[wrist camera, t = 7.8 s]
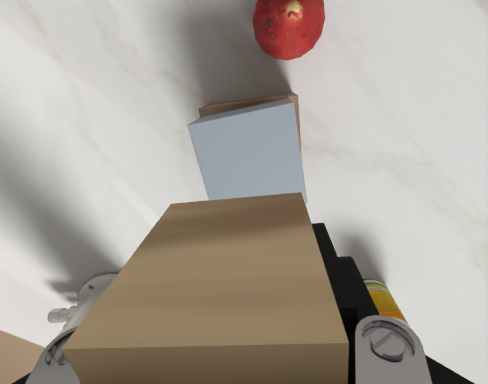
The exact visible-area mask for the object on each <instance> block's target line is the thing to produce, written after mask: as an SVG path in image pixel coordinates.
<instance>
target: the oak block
mask: <svg viewBox="0 0 488 384" xmlns="http://www.w3.org/2000/svg"><path fill="white" fill-rule="evenodd" d="M61 350H62V351H63V353H64V355H65V356H66V358H67V360H68V362H69V363H70V365H71V367H72V368H73V370H74V372H75V374H76V375H77V377H78V379H79V380H80V382H81V384H348V357H349V342H348V338H347V335H346V332H345V329H344V326H343V323H342V319H341V316H340V313H339V310H338V307H337V304H336V300H335V297H334V294H333V291H332V288H331V285H330V281H329V278H328V275H327V272H326V269H325V266H324V262H323V259H322V256H321V253H320V250H319V247H318V243H317V240H316V237H315V234H314V231H313V228H312V224H311V221H310V218H309V215H308V212H307V209H306V206H305V202H304V199H303V196H302V193H301V192H297V193H286V194H275V195H264V196H253V197H242V198H231V199H220V200H209V201H198V202H187V203H176V204H171V205H170V206H169V207H168V209H167V210H166V211H165V213H164V214H163V215H162V217H161V218H160V219H159V221H158V222H157V223H156V225H155V226H154V227H153V229H152V230H151V231H150V233H149V234H148V235H147V236H146V238H145V239H144V240H143V242H142V243H141V244H140V246H139V247H138V248H137V250H136V251H135V252H134V254H133V255H132V256H131V258H130V259H129V260H128V262H127V263H126V264H125V266H124V267H123V268H122V269H121V271H120V272H119V273H118V275H117V276H116V277H115V279H114V280H113V281H112V283H111V284H110V285H109V287H108V288H107V289H106V291H105V292H104V293H103V295H102V296H101V297H100V299H99V300H98V301H97V302H96V304H95V305H94V306H93V308H92V309H91V310H90V312H89V313H88V314H87V316H86V317H85V318H84V320H83V321H82V322H81V324H80V325H79V326H78V328H77V329H76V330H75V331H74V333H73V334H72V335H71V337H70V338H69V339H68V341H67V342H66V343H65V345H64V346H63V347H62V349H61Z"/></svg>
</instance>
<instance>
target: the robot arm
mask: <svg viewBox="0 0 488 384" xmlns="http://www.w3.org/2000/svg"><path fill="white" fill-rule="evenodd" d="M312 228H313V231H314V234H315V237H316V240H317V243H318V247H319V250H320V253H321V256H322V259H323V262H324V266H325V269H326V272H327V275H328V278H329V281H330V285H331V288H332V291H333V294H334V297H335V300H336V304H337V307H338V310H339V313H340V316H341V319H342V323H343V326H344V329H345V332H346V335H347V338H348V342H349V357H348V384H474V383H472V382H471V381H469V380H467V379H466V378H464V377H462V376H460V375H459V374H457V373H455V372H454V371H452V370H450V369H448V368H447V367H445V366H443V365H442V364H440V363H438V362H436V361H435V360H433V359H431V358H429V357H428V356H426V355H425V353H424V350H423V346H422V344H421V342H420V339H419V338H418V336H417V335H416V334H415V333H414V331H413V330H412V329H410V328H409V327H408V326H407V325H405V324H404V323H402V322H400V321H398V320H396V319H394V318H391V317H387V316H382V315H380V314H379V312H378V310H377V307H376V305H375V303H374V301H373V299H372V297H371V295H370V293H369V291H368V289H367V287H366V285H365V283H364V281H363V279H362V277H361V274H360V272H359V270H358V268H357V266H356V264H355V262H354V260H353V258H352V257H350V256H349V257H337V254H336V252H335V249H334V247H333V245H332V242H331V240H330V237H329V235H328V232H327V230H326V227H325V225H324V223H315V224H312ZM117 275H118V274H103V275H99V276H96V277H94V278H92V279H91V280H89V281H88V282H87V284H86V285H85V286H84V287H83V288H82V290H81V292H80V295H79V303H78V304H77V306H72V307H70V308H69V309H66V308H59V309H52V310H51V311H50V312H49V314H48V322H50V323H57V322H64V321H66V322H67V323H66V324H65V325H64V327H63V329H62V331H61V332H60V333H59V334H58V336H57V337H56V338H55V339H54V340H53V341H52V342H51V343H50V344H49V345H48V346H47V347H46V348H45V350H44V351H43V352H42V354H41V356H40V357H39V359H38V360H37V361H36V363H35V364H34V365H33V366H32V368H31V369H30V370H29V371H28V373H27V374H26V375H25V376H24V377H22V378H20V379H19V380H17V381H16V382H14V383H12V384H81V382H80V380H79V379H78V377H77V375H76V374H75V372H74V370H73V368H72V367H71V365H70V363H69V362H68V360H67V358H66V356H65V355H64V353H63V351H62V350H61V349H62V347H63V346H64V345H65V343H66V342H67V341H68V339H69V338H70V337H71V335H72V334H73V333H74V331H75V330H76V329H77V328H78V326H79V325H80V324H81V322H82V321H83V320H84V318H85V317H86V316H87V314H88V313H89V312H90V310H91V309H92V308H93V306H94V305H95V304H96V302H97V301H98V300H99V299H100V297H101V296H102V295H103V293H104V292H105V291H106V289H107V288H108V287H109V285H110V284H111V283H112V281H113V280H114V279H115V277H116V276H117Z"/></svg>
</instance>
